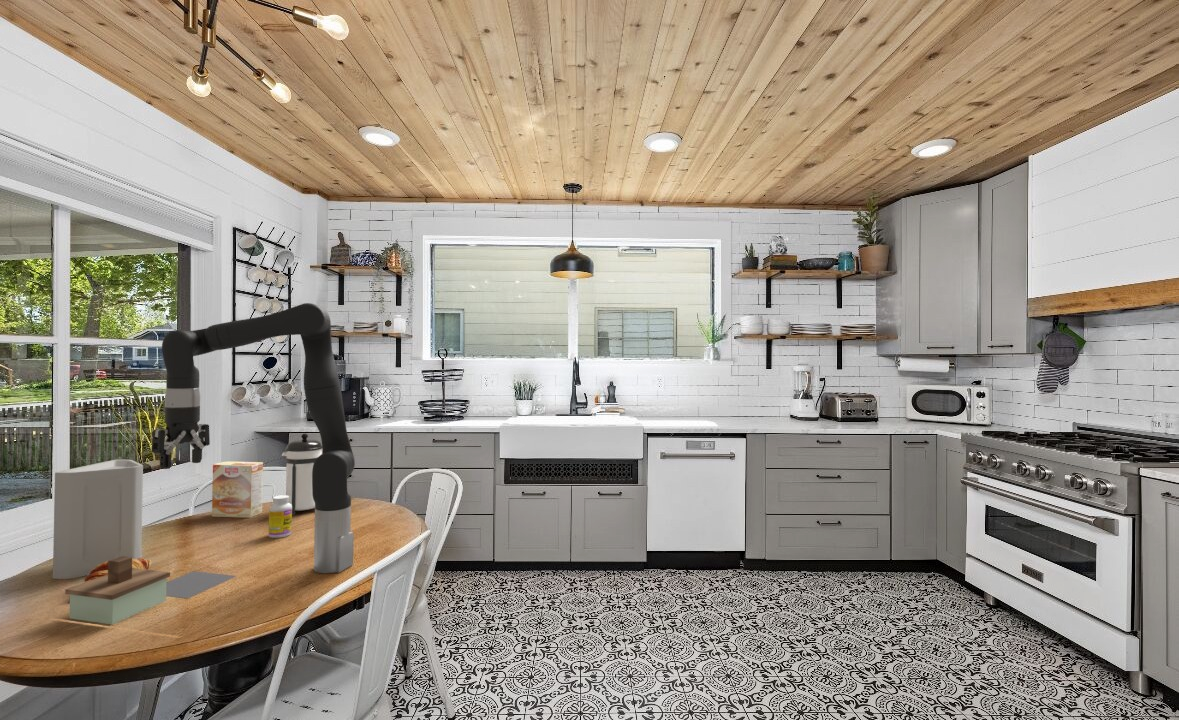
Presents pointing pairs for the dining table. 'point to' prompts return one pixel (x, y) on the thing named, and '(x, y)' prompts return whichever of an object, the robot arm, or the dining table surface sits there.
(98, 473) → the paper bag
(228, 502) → the coffeecake box
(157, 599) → the green box
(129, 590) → the lid
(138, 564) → the croissant
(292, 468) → the coffee press
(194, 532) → the dining table surface
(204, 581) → the plate
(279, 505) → the supplement bottle
